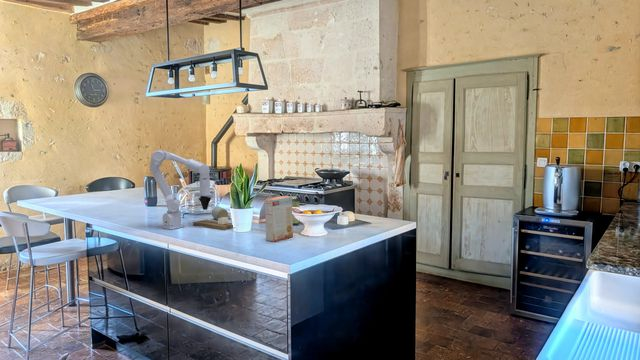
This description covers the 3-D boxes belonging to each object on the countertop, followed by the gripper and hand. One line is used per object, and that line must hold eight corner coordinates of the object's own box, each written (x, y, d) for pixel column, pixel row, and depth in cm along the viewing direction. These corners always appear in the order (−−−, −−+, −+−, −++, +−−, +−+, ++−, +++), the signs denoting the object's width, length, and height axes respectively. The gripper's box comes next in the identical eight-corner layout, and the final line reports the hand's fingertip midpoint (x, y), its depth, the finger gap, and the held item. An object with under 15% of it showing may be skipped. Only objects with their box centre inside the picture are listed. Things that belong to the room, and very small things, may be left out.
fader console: (223, 230, 248) (223, 226, 247) (193, 225, 260) (192, 222, 260) (236, 227, 256) (236, 223, 256) (206, 222, 269) (206, 219, 269)
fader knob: (221, 224, 251) (221, 218, 251) (218, 224, 253) (217, 218, 253) (228, 223, 256) (228, 217, 255) (224, 222, 257) (224, 216, 257)
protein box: (298, 225, 260) (298, 198, 258) (271, 225, 259) (271, 198, 258) (299, 222, 270) (299, 196, 268) (273, 222, 270) (272, 196, 268)
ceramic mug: (218, 221, 273) (218, 208, 273) (211, 219, 280) (211, 206, 279) (233, 219, 281) (233, 207, 280) (226, 217, 287) (226, 205, 286)
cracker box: (284, 235, 234) (284, 195, 232) (293, 237, 231) (293, 196, 229) (264, 240, 224) (264, 198, 222) (273, 242, 220) (273, 199, 218)
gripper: (219, 186, 257) (219, 209, 258) (201, 184, 265) (201, 207, 266) (209, 187, 251) (210, 211, 252) (191, 185, 259) (192, 209, 260)
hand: (205, 209), depth 259 cm, fingers closed
